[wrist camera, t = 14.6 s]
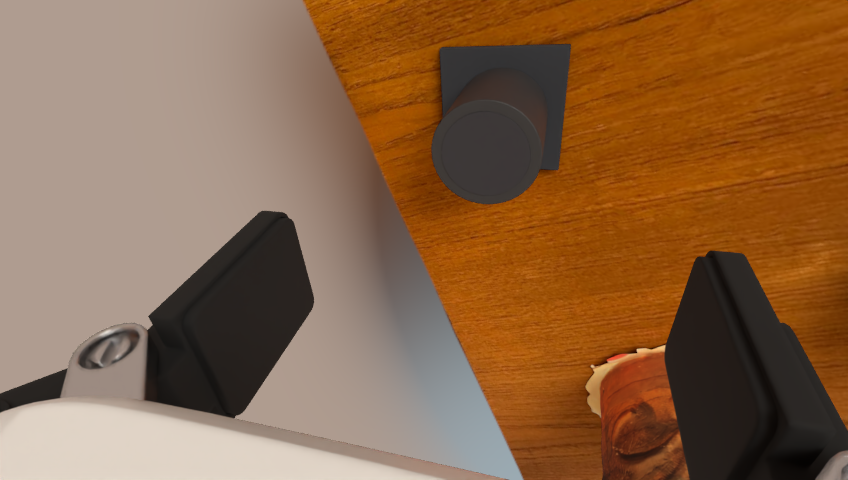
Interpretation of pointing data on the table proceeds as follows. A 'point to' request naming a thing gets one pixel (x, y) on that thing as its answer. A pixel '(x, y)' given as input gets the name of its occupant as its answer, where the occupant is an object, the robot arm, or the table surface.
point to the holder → (492, 137)
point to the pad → (533, 60)
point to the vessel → (637, 418)
